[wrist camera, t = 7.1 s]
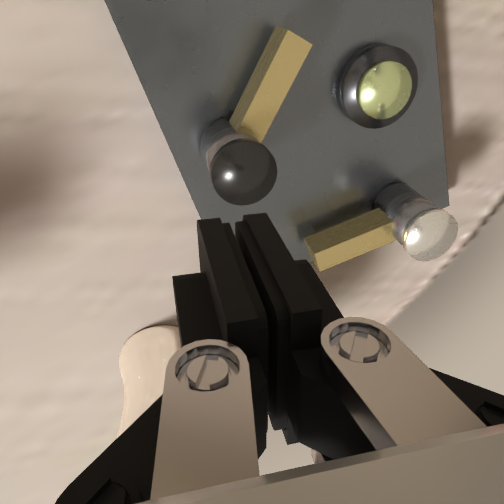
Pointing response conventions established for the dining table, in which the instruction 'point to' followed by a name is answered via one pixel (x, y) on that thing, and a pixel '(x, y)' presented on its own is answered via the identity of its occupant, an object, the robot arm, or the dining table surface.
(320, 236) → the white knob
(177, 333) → the beer glass
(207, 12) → the base plate
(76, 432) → the dining table surface
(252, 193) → the tan lever handle
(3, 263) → the dining table surface
